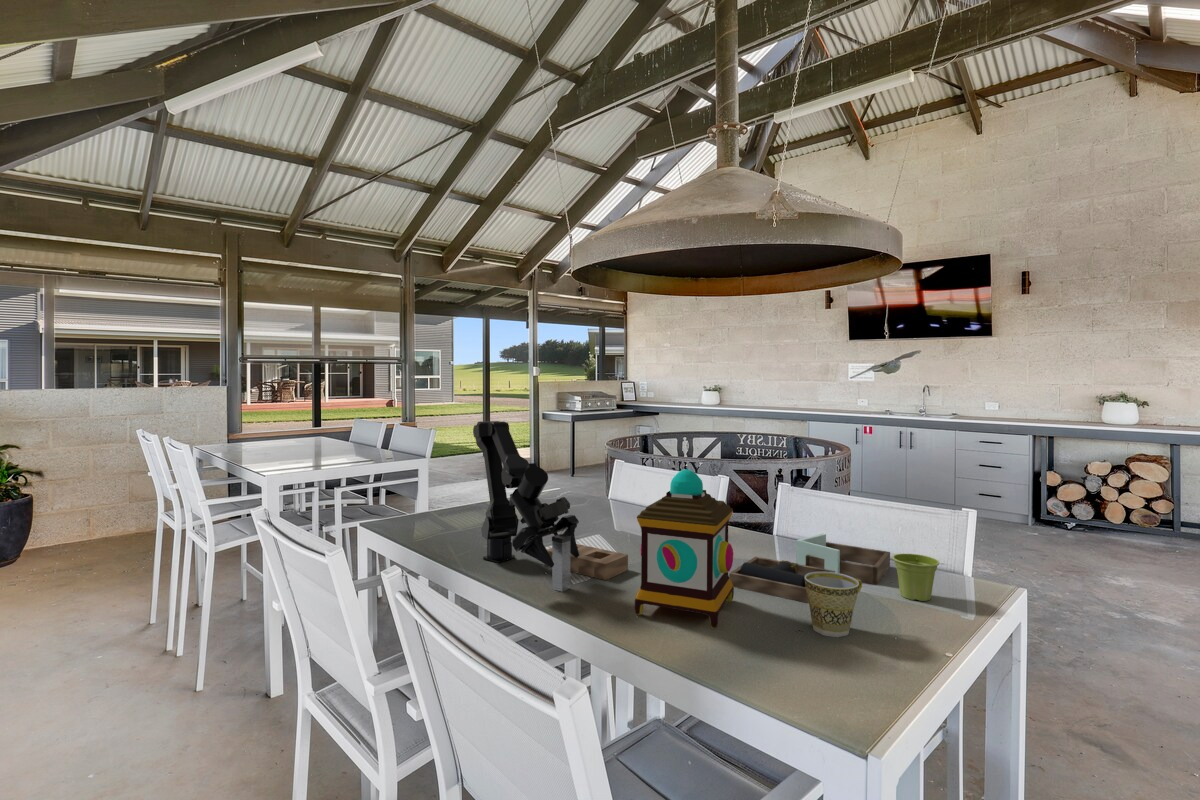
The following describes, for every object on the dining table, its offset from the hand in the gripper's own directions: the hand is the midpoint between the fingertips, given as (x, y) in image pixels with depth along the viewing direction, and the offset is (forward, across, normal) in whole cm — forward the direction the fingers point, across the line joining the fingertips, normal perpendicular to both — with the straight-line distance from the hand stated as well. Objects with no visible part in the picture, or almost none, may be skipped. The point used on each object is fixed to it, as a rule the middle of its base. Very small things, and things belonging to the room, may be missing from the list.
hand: (565, 561), depth 134 cm
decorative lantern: (+24, +7, -15) cm, 29 cm away
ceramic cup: (+45, +15, -35) cm, 59 cm away
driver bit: (+4, 0, +6) cm, 7 cm away
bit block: (0, +16, +9) cm, 18 cm away
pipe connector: (+33, +33, -23) cm, 52 cm away
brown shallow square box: (+40, +56, -30) cm, 75 cm away
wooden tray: (+33, +34, -23) cm, 53 cm away
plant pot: (+52, +44, -42) cm, 80 cm away
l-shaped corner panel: (+37, +54, -27) cm, 71 cm away
